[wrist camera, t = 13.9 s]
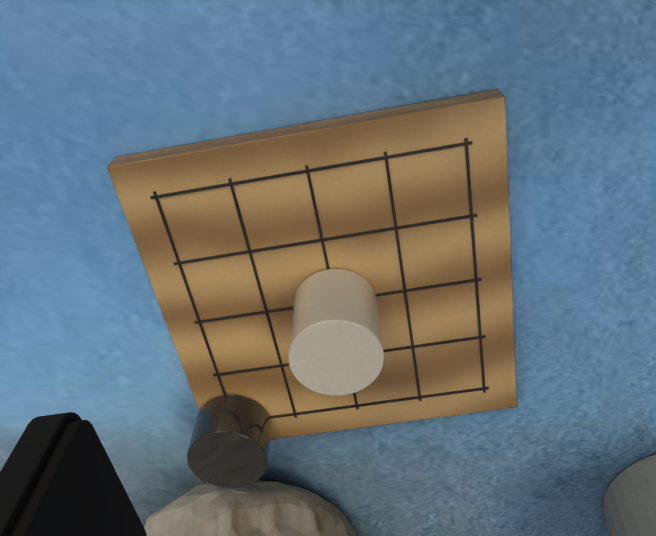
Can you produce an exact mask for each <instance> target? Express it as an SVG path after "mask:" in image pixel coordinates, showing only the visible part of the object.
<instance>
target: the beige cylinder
mask: <svg viewBox="0 0 656 536" xmlns="http://www.w3.org/2000/svg"><path fill="white" fill-rule="evenodd" d="M288 361H289V366H290V369H291V371H292V373H293V375H294V376H295V377H296V379H297V380H298V381H299V382H300V383H301V384H302V385H304V386H305V387H307V388H308V389H310V390H312V391H314V392H317V393H320V394H324V395H331V396H341V395H348V394H352V393H355V392H358V391H360V390H362V389H364V388H366V387H367V386H369V385H370V384H371V383H372V382H373V381H374V380H375V379H376V378H377V377H378V375H379V373H380V372H381V369H382V367H383V363H384V351H383V342H382V334H381V326H380V318H379V309H378V301H377V296H376V293H375V291H374V289H373V287H372V286H371V285H370V283H369V282H368V281H367V280H366V279H364V278H363V277H362V276H360V275H358V274H356V273H354V272H351V271H348V270H343V269H328V270H323V271H320V272H317V273H315V274H313V275H311V276H310V277H308V278H307V279H306V280H305V281H303V283H302V284H301V285H300V286H299V288H298V289H297V291H296V293H295V296H294V302H293V312H292V322H291V333H290V344H289V354H288Z"/></svg>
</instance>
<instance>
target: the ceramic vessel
mask: <svg viewBox="0 0 656 536" xmlns="http://www.w3.org/2000/svg"><path fill="white" fill-rule="evenodd" d="M144 529H145V531H146V534H147V536H358V534H357V533H356V531H355V530H354V528H353V527H352V525H351V524H350V522H349V521H348V520H347V518H346V517H345V515H344V514H343V513H342V512H341V511H340V510H339V509H338V508H337V507H336V506H335V505H334V504H333V503H331V502H329V501H327V500H325V499H322V498H321V497H320V496H319V495H317V494H315V493H313V492H310V491H308V490H306V489H304V488H302V487H298V486H293V485H289V484H285V483H280V482H272V481H258V480H257V481H255V482H253V483H251V484H249V485H247V486H243V487H238V488H223V487H217V486H214V485H211V484H208V483H205V484H198V485H197V486H195V487H194V488H192V489H191V490H189V491H188V492H186V493H185V494H183V495H182V496H180V497H178V498H177V499H175V500H174V501H172V502H171V503H169V504H167V505H166V506H164V507H163V508H161V509H160V510H158V511H156V512H155V513H153V514H152V515H150V516H149V517H148V518H147V521H146V523H145V526H144Z"/></svg>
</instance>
